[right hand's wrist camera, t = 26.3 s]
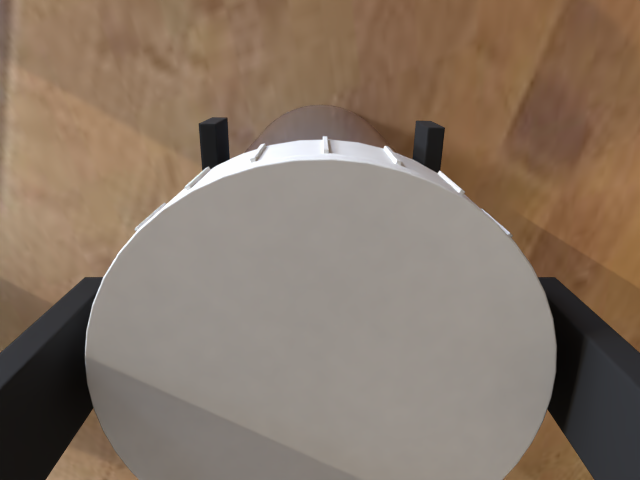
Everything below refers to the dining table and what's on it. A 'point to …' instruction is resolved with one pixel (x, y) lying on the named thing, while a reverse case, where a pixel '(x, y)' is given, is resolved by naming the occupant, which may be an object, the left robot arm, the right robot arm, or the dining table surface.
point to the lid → (320, 326)
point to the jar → (320, 127)
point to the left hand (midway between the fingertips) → (321, 122)
